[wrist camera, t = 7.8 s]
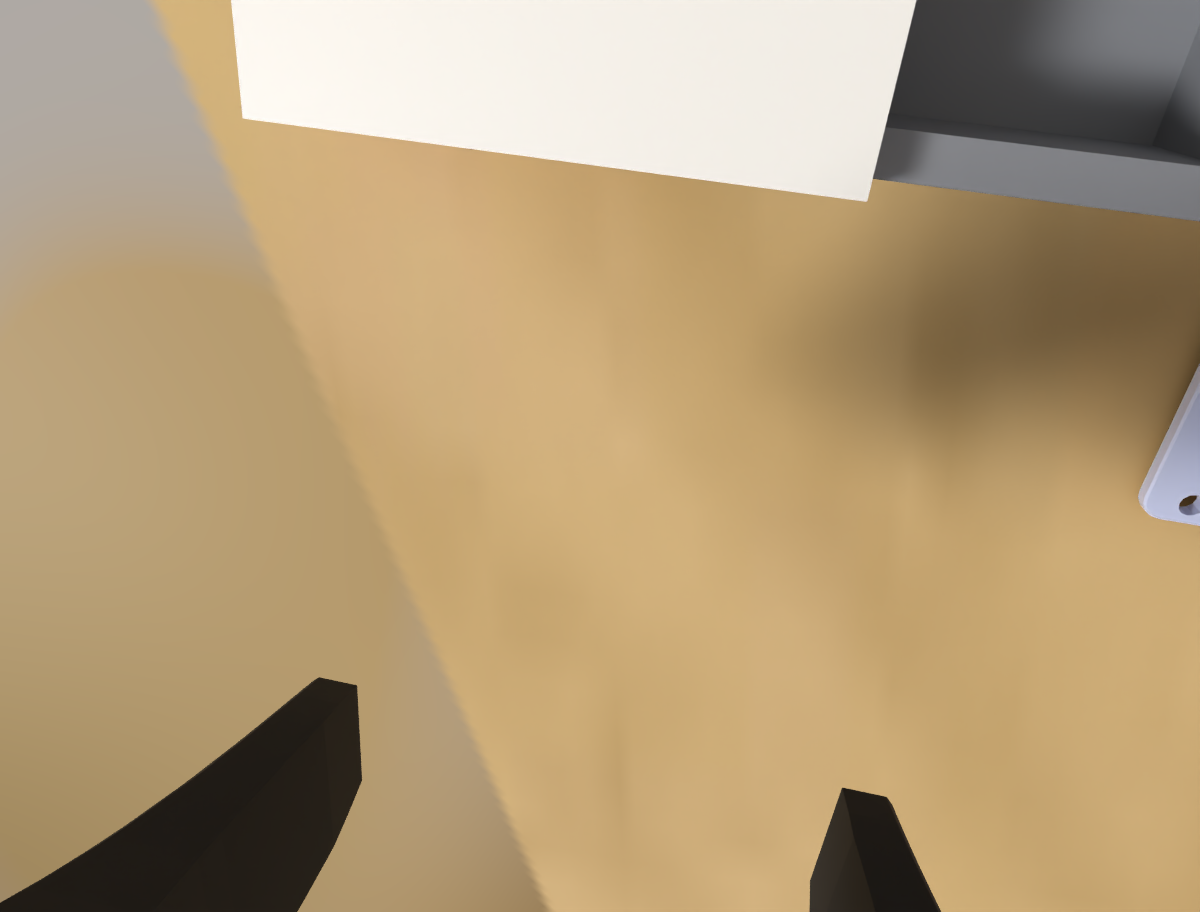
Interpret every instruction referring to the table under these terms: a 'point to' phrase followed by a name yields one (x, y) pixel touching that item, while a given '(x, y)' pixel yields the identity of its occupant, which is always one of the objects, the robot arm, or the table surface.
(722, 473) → the table surface
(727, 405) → the table surface
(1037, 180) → the carton
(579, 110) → the carton lid
